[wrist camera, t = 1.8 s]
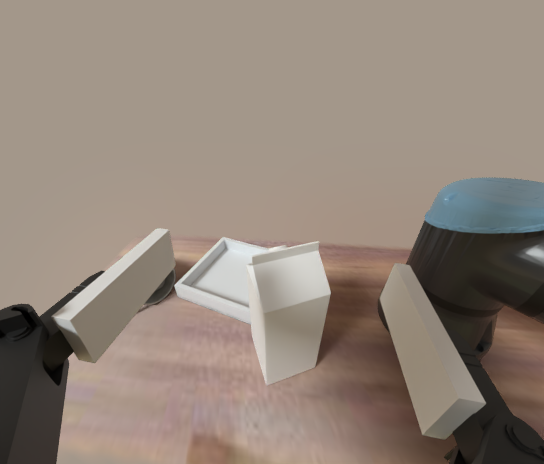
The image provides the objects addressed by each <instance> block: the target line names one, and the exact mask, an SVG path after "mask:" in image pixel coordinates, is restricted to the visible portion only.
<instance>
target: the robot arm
mask: <svg viewBox="0 0 544 464" xmlns="http://www.w3.org/2000/svg"><path fill="white" fill-rule="evenodd" d="M175 266H176V263H175V258H174V253H173V248H172V243H171V237H170V233H169V230H166V229H159V228H157V229H156V230H155V231H153V232H152V233H151V234H150V235H148V236H147V237H146V238H145V239H144V240H142V241H141V242H140V243H139V244H138V245H136V246H135V247H134V248H133V249H132V250H130V251H129V252H128V253H127V254H126V255H124V256H123V257H122V258H121V259H120V260H119V261H117V262H116V263H115V264H114V265H113V266H111V267H110V268H109V269H108V270H107V271H100V272H98V273H96V274H94V275H92V276H90V277H89V278H87V279H86V280H85V281H84V282H82V283H81V284H80V286H78V287H76V288H75V289H74V290H72V292H71V293H69V294H67V295H66V296H65V297H64V298H62V299H61V300H60V301H59V302H57V303H56V304H55V305H54V306H52V307H51V308H50V309H49V310H47V311H46V312H45V313H44V314H42V315H41V316H40V317H39V316H38V315H37V313H36V312H35V310H34V309H33V307H32V306H30V305H29V304H18V305H12V306H10V307H7V308H4V309H2V310H0V464H56V461H57V453H58V445H59V438H60V430H61V422H62V415H63V407H64V399H65V392H66V384H67V376H68V369H69V361H68V359H67V358H68V357H69V356H70V355H71V354H72V353H73V352H74V353H75V355H76V356H77V358H78V359H79V360H82V361H86V362H91V363H96V362H97V360H98V359H99V358H100V357H101V356H102V354H103V353H104V352H105V351H106V350H107V348H108V347H109V346H110V345H111V343H112V342H113V341H114V340H115V339H116V337H117V336H118V335H119V334H120V333H121V331H122V330H123V329H124V328H125V326H126V325H127V324H128V323H129V322H130V320H131V319H132V318H133V317H134V316H135V314H136V313H137V312H138V311H139V310H140V308H141V307H142V306H143V305H144V303H145V302H146V301H147V300H148V299H149V297H150V296H151V295H152V294H153V293H154V291H155V290H156V289H157V288H158V286H159V285H160V284H161V283H162V282H163V280H164V279H165V278H166V277H167V276H168V274H169V273H170V272H171V271H172V270H173V268H174V267H175ZM504 305H506V306H508V307H510V308H513V309H515V310H517V311H519V312H521V313H523V314H525V315H527V316H529V317H531V318H533V319H535V320H537V321H539V322H541V323H543V324H544V183H542V182H535V181H529V180H521V179H509V178H471V179H465V180H460V181H456V182H453V183H451V184H449V185H447V186H445V187H444V188H443V189H442V190H441V191H440V192H439V193H438V195H437V197H436V198H435V200H434V202H433V204H432V206H431V208H430V210H429V211H428V212H427V213H426V215H425V221H424V223H423V226H422V228H421V230H420V233H419V235H418V237H417V240H416V242H415V245H414V247H413V249H412V251H411V254H410V256H409V258H408V261H407V263H406V264H399V263H395V264H394V266H393V268H392V271H391V273H390V275H389V278H388V280H387V282H386V285H385V286H384V288H383V289H382V291H381V294H380V296H379V299H378V312H379V316H380V318H381V320H382V322H383V324H384V326H385V327H386V329H387V330H388V331H389V333H390V334H391V337H392V340H393V343H394V346H395V350H396V353H397V356H398V359H399V362H400V365H401V369H402V372H403V375H404V378H405V381H406V385H407V388H408V391H409V394H410V397H411V400H412V404H413V407H414V410H415V413H416V416H417V420H418V423H419V426H420V429H421V432H422V435H425V436H429V437H434V438H438V439H443V440H445V439H446V438H448V437H449V436H450V435H451V434H452V433H453V435H454V437H455V440H456V442H457V444H458V445H457V446H456V447H455V448H454V449H452V450H451V451H450V452H448V453H447V455H446V456H445V457H444V458H445V459H446V460H447V461H448V460H449V459H450V458H451V459H450V462H449V464H544V440H543V439H542V438H541V437H540V436H539V435H538V433H537V432H536V431H535V430H534V429H532V428H531V427H530V426H529V425H528V424H526V423H525V422H524V421H522V420H520V419H519V418H517V417H515V416H513V414H512V413H511V412H510V410H509V409H508V407H507V405H506V404H505V402H504V400H503V399H502V397H501V396H500V394H499V392H498V391H497V389H496V387H495V386H494V384H493V383H492V381H491V379H490V378H489V376H488V374H487V373H486V371H485V370H484V369H483V368H482V365H481V363H480V361H479V360H480V359H481V358H482V357H483V356H484V355H485V354H486V353H487V352H488V351H489V349H490V347H491V345H492V341H493V335H494V330H495V324H496V318H497V313H498V312H499V311H500V310H501V308H502V307H503V306H504Z"/></svg>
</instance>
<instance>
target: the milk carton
mask: <svg viewBox="0 0 544 464" xmlns="http://www.w3.org/2000/svg"><path fill="white" fill-rule="evenodd" d="M318 248H319V242H318V241H316V242H312V243H307V244H302V245H298V246H293V247H289V248H288V247H287V245H283V246H278V247H274V248H269V249H268V250H269V252H265V253H261V254H256V255H252V263H250V264H246V270H247V282H248V294H249V306H250V318H251V329H252V338H253V342H254V345H255V349H256V352H257V355H258V359H259V362H260V366H261V369H262V373H263V376H264V379H265V383H266V385H270V384H273V383H275V382H278V381H281V380H283V379H286V378H288V377H291V376H294V375H296V374H299V373H302V372H304V371H307V370H309V369H312V368H314V367H315V366H316V361H317V357H318V352H319V347H320V342H321V338H322V333H323V328H324V323H325V319H326V314H327V309H328V305H329V300H330V295H331V291H330V288H329V284H328V281H327V278H326V274H325V271H324V268H323V265H322V261H321V258H320V255H319V251H318Z"/></svg>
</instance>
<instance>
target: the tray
mask: <svg viewBox="0 0 544 464" xmlns="http://www.w3.org/2000/svg"><path fill="white" fill-rule="evenodd" d="M265 252H269V250H268V248H264V247H260V246H256V245H252V244H248V243H245V242H241V241H237V240H233V239H229V238H225V237H223V238H222V239H221V240H219V241H218V242H217V243H216V244H215V245H214V246H213V247H212V248H211V249H210V250H209V251H208V252H207V253H206V254H205V255H204V256H203V257H202V258H201V259H200V260H199V261H198V262H197V263H196V264H195V265H194V266H193V267H192V268H191V269H190V270H189V271H188V272H187V273H186V274H185V275H184V276H183V277H182V278H181V279H180V280H179V281H178V282H177V283H176V284H175V285H174V287H175V289H176V292H177V295H178V297H179V298H182V299H185V300H187V301H190V302H193V303H195V304H198V305H200V306H203V307H206V308H208V309H211V310H214V311H216V312H219V313H221V314H224V315H227V316H229V317H232V318H235V319H237V320H240V321H242V322H245V323H248V324H250V325H251V318H250V306H249V294H248V282H247V270H246V264H250V263H252V255H256V254H261V253H265Z"/></svg>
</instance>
